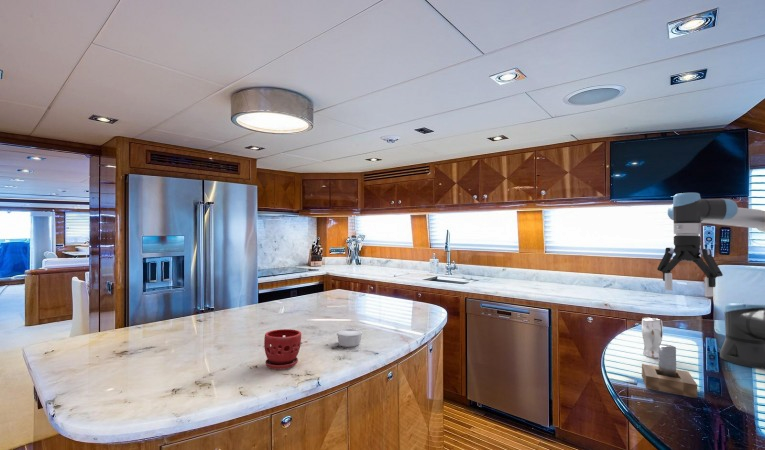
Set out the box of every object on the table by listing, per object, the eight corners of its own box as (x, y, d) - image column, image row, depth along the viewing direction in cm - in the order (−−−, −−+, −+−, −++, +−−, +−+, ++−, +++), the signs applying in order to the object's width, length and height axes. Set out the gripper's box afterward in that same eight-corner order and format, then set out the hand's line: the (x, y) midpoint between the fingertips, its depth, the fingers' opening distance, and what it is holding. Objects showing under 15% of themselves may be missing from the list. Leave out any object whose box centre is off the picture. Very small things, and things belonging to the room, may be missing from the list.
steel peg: (674, 385, 114) (674, 345, 115) (677, 390, 111) (677, 349, 111) (658, 382, 117) (657, 343, 117) (660, 386, 113) (659, 346, 113)
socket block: (688, 383, 116) (688, 371, 116) (697, 398, 105) (697, 385, 105) (642, 375, 122) (641, 363, 122) (646, 388, 112) (645, 375, 112)
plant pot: (299, 371, 122) (300, 336, 123) (260, 372, 120) (261, 338, 121) (301, 358, 135) (302, 327, 136) (267, 359, 133) (267, 328, 133)
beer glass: (667, 359, 139) (666, 321, 139) (647, 358, 140) (647, 320, 140) (657, 353, 145) (656, 317, 146) (638, 352, 147) (638, 317, 147)
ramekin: (358, 339, 161) (358, 327, 161) (364, 346, 150) (365, 334, 150) (334, 341, 157) (334, 329, 157) (339, 349, 147) (339, 336, 147)
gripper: (645, 234, 138) (646, 288, 137) (719, 235, 114) (720, 299, 113) (660, 235, 140) (661, 287, 139) (736, 235, 115) (737, 299, 115)
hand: (687, 293), depth 126 cm, fingers open, 13 cm apart
